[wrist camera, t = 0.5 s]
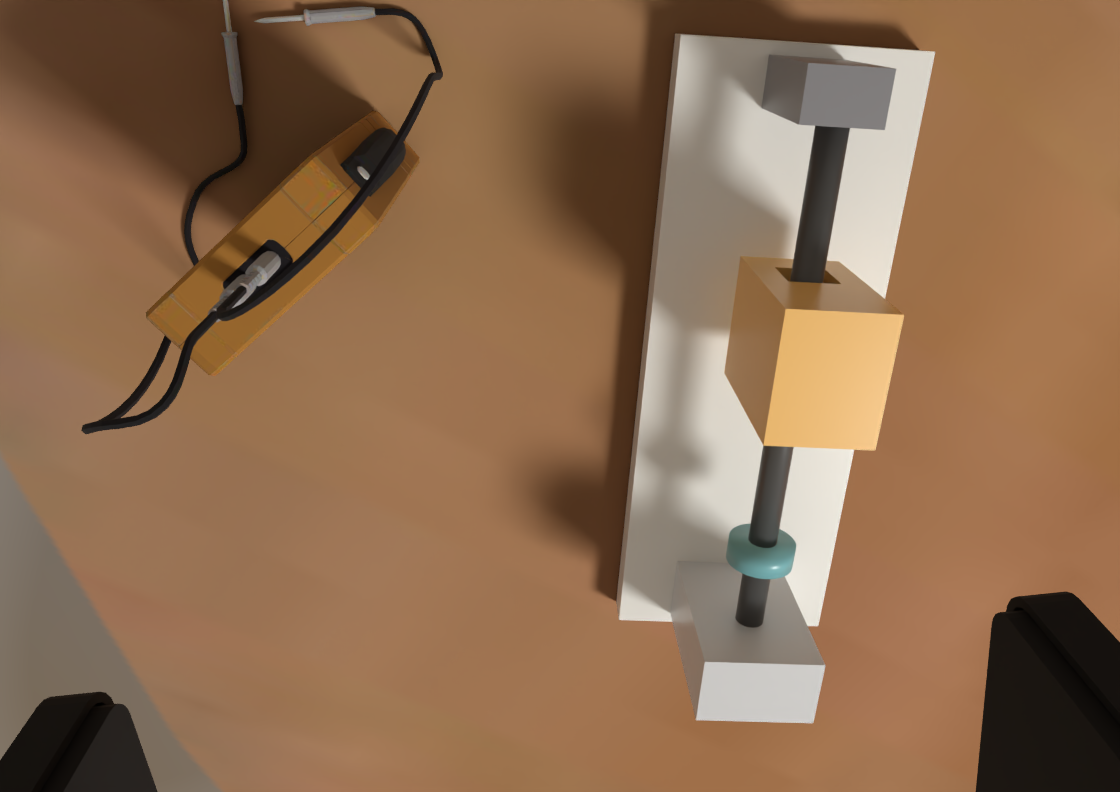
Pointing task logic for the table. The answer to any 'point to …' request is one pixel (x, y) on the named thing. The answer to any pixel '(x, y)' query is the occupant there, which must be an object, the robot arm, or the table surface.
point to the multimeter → (279, 233)
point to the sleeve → (811, 355)
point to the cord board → (702, 341)
